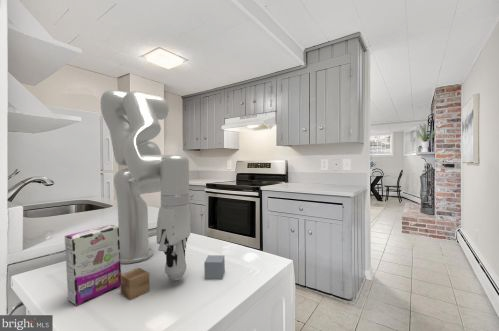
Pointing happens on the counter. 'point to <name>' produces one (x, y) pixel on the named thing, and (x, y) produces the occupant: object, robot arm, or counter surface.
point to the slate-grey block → (214, 267)
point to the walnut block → (135, 283)
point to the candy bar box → (92, 263)
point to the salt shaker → (180, 269)
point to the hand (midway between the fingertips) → (175, 265)
